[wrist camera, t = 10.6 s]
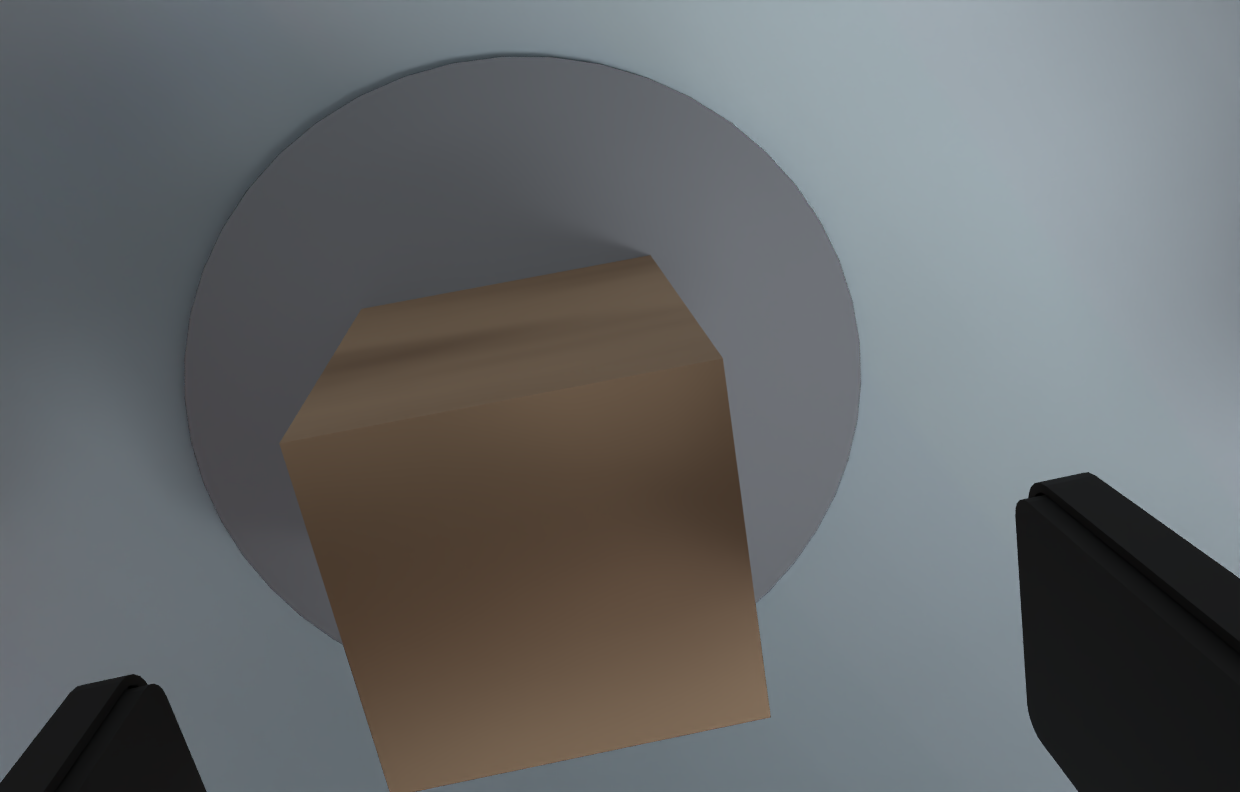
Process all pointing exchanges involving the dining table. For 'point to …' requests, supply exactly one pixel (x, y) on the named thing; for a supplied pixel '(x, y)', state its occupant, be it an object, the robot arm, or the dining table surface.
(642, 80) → the disc
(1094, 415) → the dining table surface
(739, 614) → the walnut block
